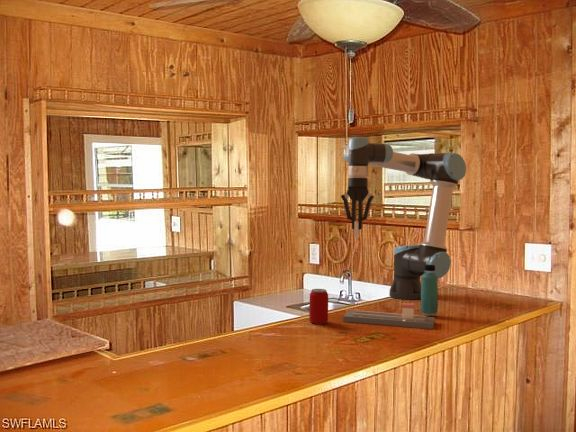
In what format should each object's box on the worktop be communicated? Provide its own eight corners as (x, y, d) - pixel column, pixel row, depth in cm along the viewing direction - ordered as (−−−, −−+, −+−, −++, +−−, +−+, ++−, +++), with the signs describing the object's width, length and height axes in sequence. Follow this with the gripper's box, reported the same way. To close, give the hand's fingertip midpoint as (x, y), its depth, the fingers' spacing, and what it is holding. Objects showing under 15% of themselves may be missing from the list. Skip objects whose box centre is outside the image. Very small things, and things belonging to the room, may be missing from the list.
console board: (348, 315, 234) (349, 308, 234) (434, 322, 224) (434, 315, 224) (343, 321, 225) (343, 314, 224) (432, 329, 215) (432, 321, 215)
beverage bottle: (439, 318, 231) (440, 266, 230) (421, 318, 231) (423, 265, 230) (435, 314, 238) (436, 263, 237) (418, 314, 238) (419, 263, 237)
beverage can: (328, 320, 225) (328, 288, 225) (327, 325, 219) (328, 292, 218) (309, 320, 226) (310, 288, 225) (308, 324, 219) (309, 291, 219)
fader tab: (402, 316, 224) (402, 302, 224) (414, 317, 223) (414, 303, 223) (401, 318, 221) (401, 304, 221) (413, 319, 220) (413, 305, 220)
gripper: (339, 177, 235) (338, 238, 237) (372, 177, 231) (371, 239, 233) (343, 177, 243) (342, 236, 244) (376, 177, 239) (375, 237, 240)
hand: (356, 237), depth 239 cm, fingers closed
